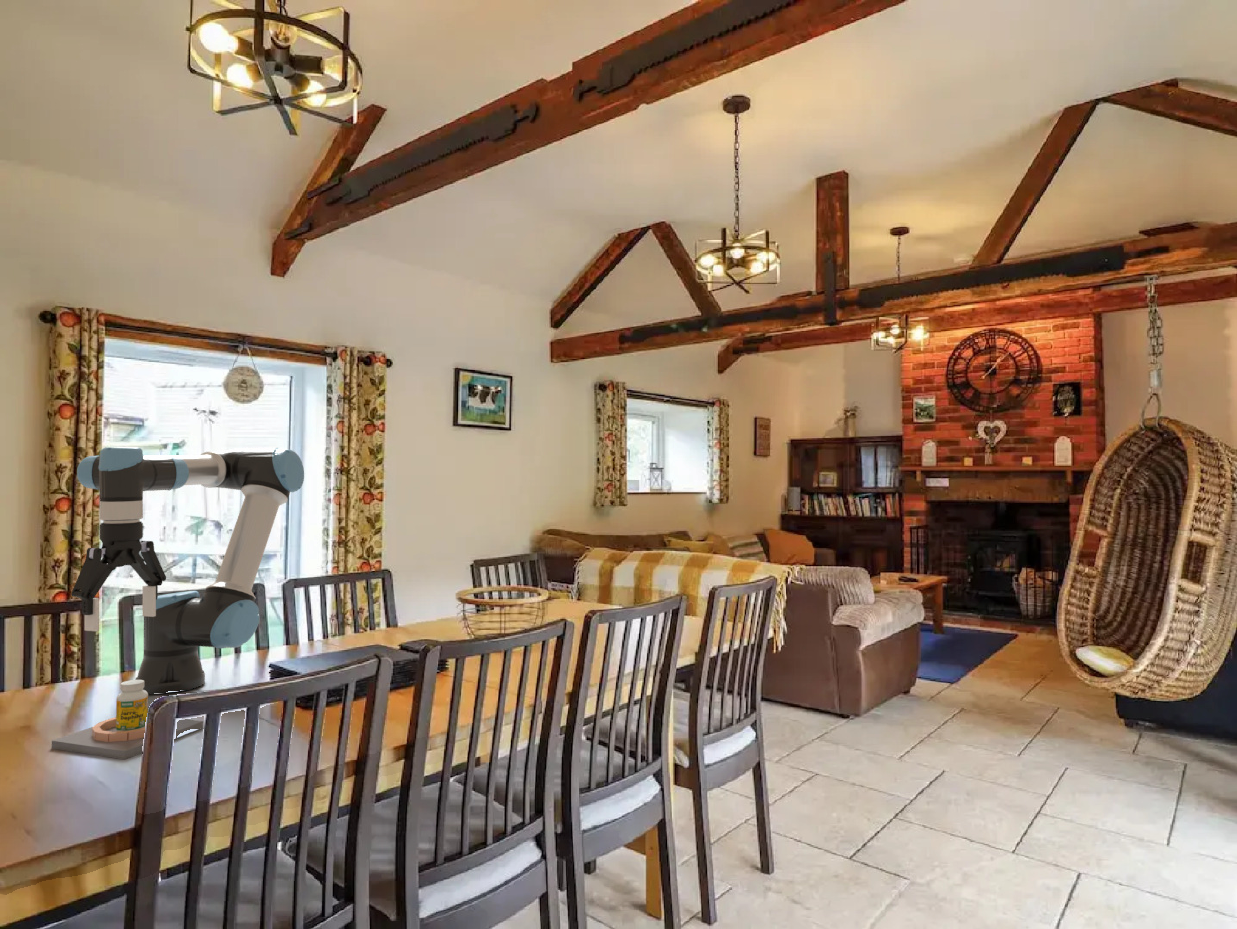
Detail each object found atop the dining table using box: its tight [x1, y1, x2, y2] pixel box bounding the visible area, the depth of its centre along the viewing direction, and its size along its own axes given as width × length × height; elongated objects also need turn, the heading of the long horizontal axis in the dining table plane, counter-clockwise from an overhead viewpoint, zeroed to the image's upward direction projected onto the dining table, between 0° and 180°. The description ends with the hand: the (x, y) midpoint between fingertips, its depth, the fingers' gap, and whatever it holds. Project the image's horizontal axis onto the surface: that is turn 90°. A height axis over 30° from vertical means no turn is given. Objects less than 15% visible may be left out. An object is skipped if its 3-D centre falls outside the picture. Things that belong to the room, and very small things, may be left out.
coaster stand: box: [51, 716, 204, 760], centre depth 150 cm, size 18×18×3 cm
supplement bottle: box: [115, 679, 149, 732], centre depth 150 cm, size 5×5×10 cm
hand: (121, 623), depth 155 cm, fingers open, 13 cm apart
